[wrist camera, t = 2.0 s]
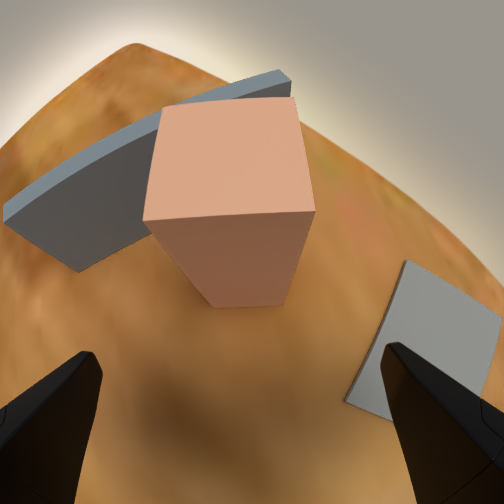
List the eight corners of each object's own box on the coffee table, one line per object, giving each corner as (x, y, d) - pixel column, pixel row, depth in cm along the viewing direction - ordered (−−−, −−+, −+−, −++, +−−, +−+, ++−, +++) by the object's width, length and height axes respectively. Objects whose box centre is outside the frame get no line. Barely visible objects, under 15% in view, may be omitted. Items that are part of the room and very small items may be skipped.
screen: (78, 272, 23) (3, 222, 13) (75, 258, 23) (3, 204, 14) (283, 171, 25) (291, 80, 16) (274, 160, 26) (279, 69, 17)
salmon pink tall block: (282, 305, 21) (315, 210, 8) (213, 308, 21) (142, 220, 8) (277, 238, 23) (293, 93, 10) (213, 241, 23) (164, 103, 10)
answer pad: (454, 443, 16) (458, 444, 16) (343, 400, 19) (346, 401, 18) (498, 318, 20) (502, 317, 19) (404, 261, 22) (407, 258, 22)
